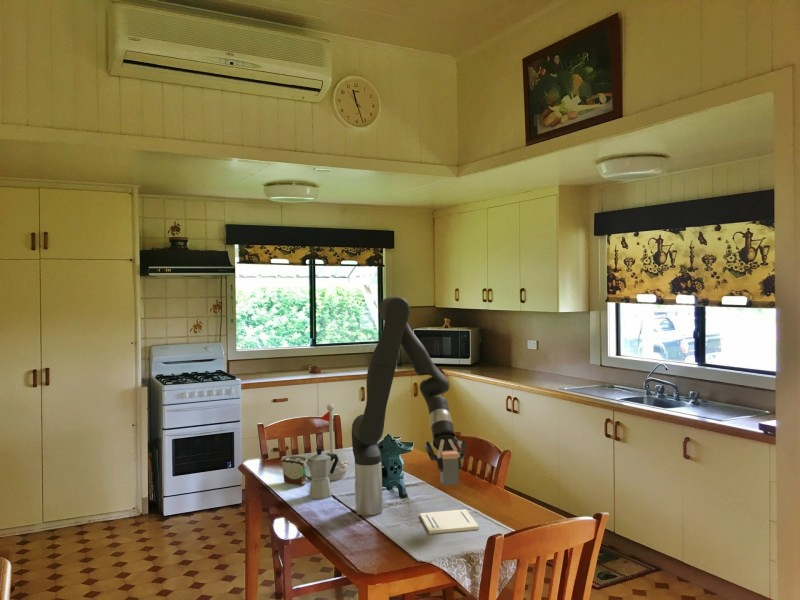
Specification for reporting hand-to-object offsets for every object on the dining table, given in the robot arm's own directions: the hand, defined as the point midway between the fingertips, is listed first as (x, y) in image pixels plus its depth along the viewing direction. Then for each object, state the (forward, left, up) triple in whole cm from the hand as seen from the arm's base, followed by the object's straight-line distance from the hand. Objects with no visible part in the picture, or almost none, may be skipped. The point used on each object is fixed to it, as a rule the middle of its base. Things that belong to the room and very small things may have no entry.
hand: (450, 469), depth 216 cm
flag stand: (-35, +64, -18) cm, 75 cm away
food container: (-49, +59, -18) cm, 78 cm away
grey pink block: (0, +2, -5) cm, 5 cm away
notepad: (-1, +2, -18) cm, 18 cm away
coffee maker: (-40, +41, -18) cm, 60 cm away
